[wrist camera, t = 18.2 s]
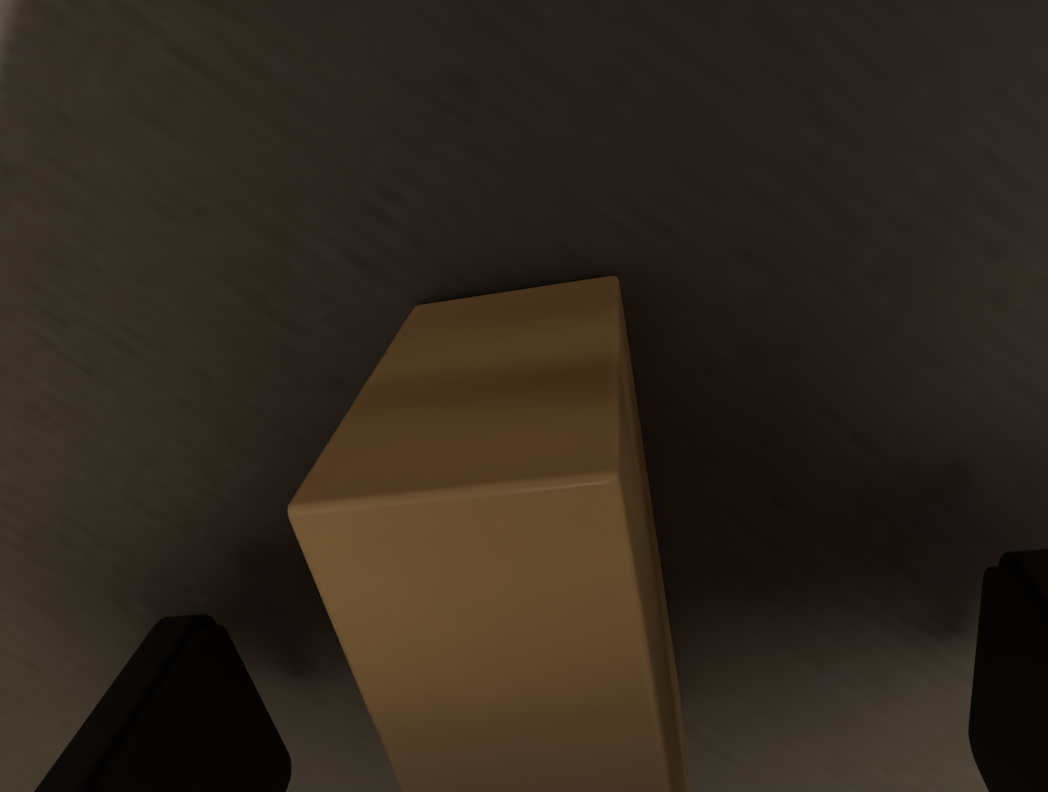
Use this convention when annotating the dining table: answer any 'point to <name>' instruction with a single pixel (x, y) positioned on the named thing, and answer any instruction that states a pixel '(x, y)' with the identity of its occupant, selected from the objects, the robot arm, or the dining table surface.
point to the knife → (501, 551)
